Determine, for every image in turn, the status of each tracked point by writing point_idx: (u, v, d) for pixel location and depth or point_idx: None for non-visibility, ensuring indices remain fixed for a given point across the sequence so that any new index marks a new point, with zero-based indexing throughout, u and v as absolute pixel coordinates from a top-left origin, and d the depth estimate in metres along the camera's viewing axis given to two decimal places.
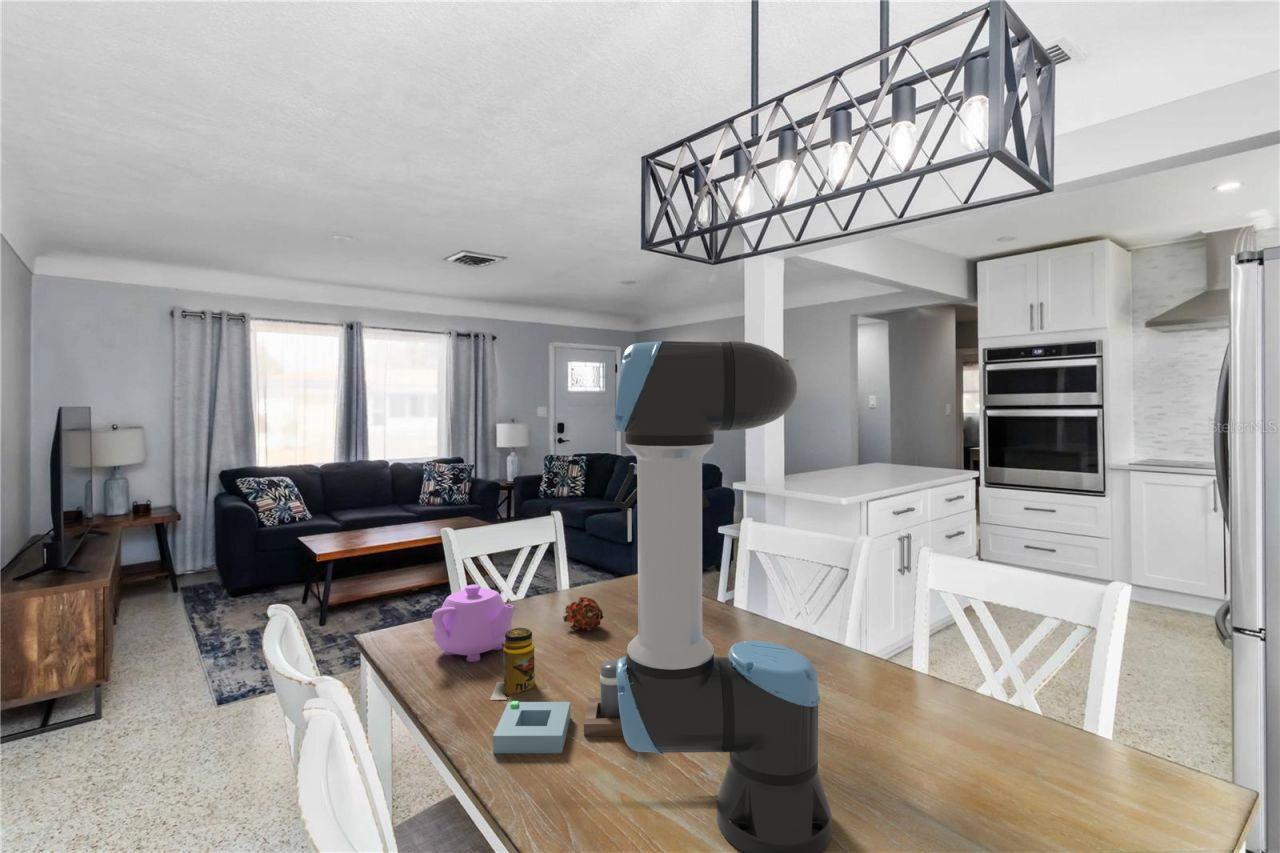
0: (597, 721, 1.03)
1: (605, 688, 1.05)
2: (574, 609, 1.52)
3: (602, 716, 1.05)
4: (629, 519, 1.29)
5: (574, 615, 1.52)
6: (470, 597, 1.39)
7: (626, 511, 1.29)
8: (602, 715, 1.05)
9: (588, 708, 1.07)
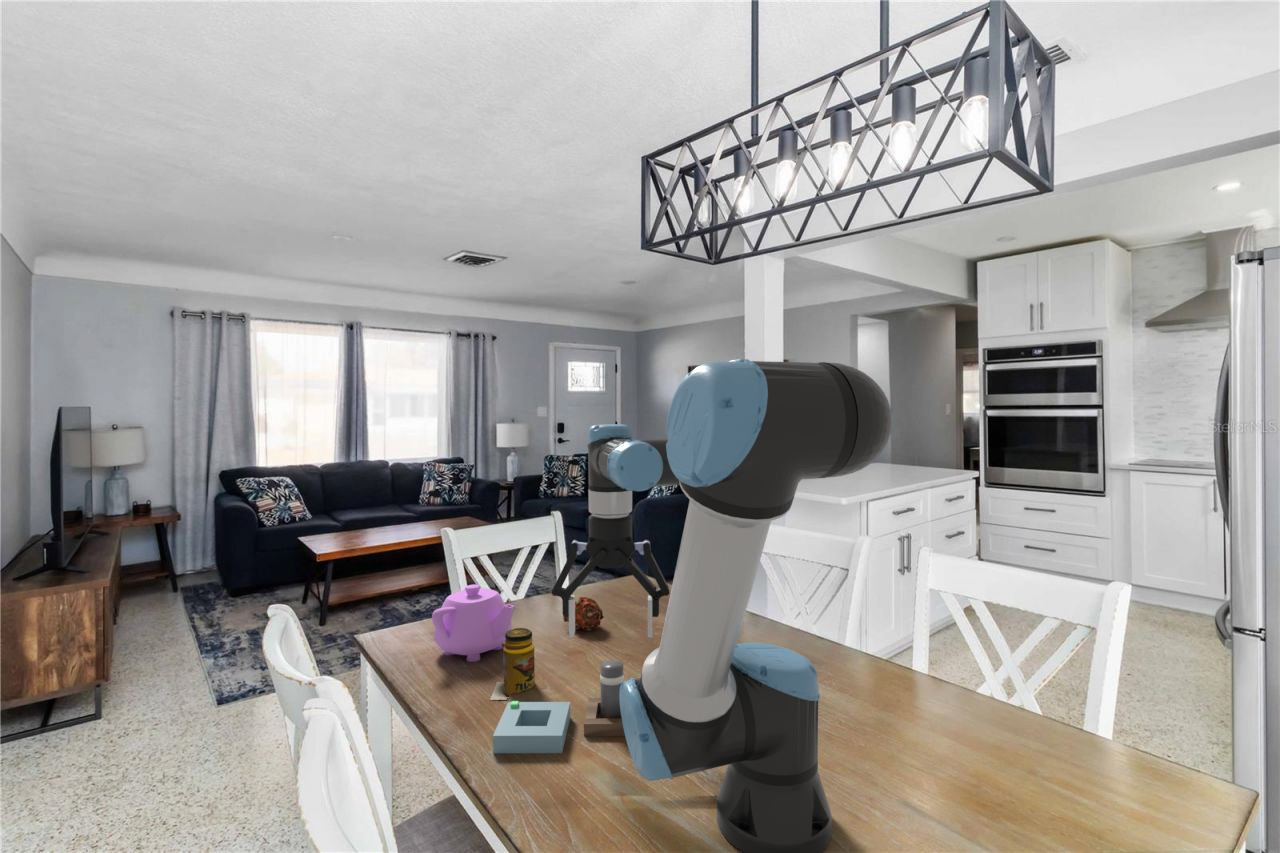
0: (597, 721, 1.03)
1: (605, 688, 1.05)
2: None
3: (602, 716, 1.05)
4: (571, 610, 1.05)
5: None
6: (470, 597, 1.39)
7: (567, 600, 1.05)
8: (602, 715, 1.05)
9: (588, 708, 1.07)
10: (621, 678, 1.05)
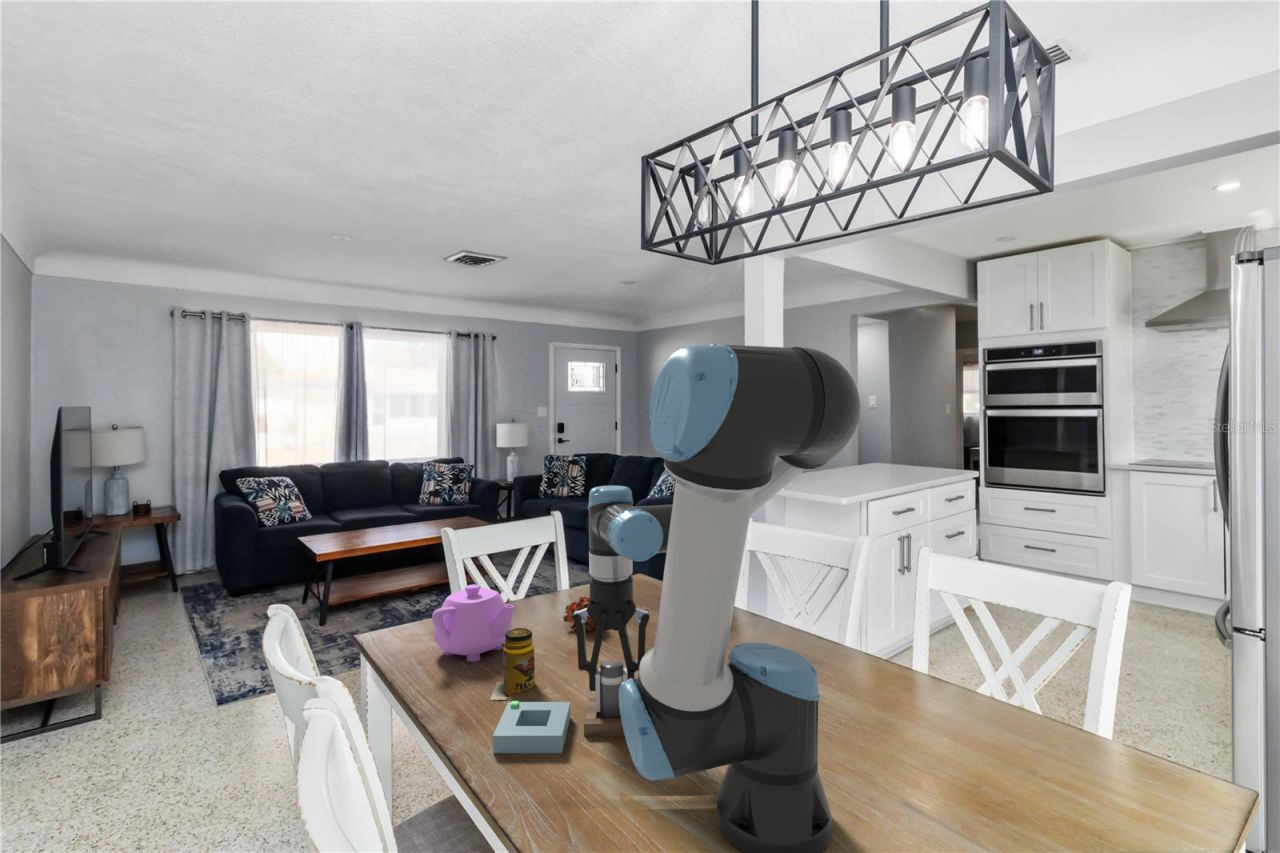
0: (597, 721, 1.03)
1: (605, 688, 1.05)
2: (574, 609, 1.52)
3: (602, 716, 1.05)
4: (597, 685, 1.05)
5: None
6: (470, 597, 1.39)
7: (594, 674, 1.06)
8: (602, 715, 1.05)
9: (588, 708, 1.07)
10: (621, 678, 1.05)
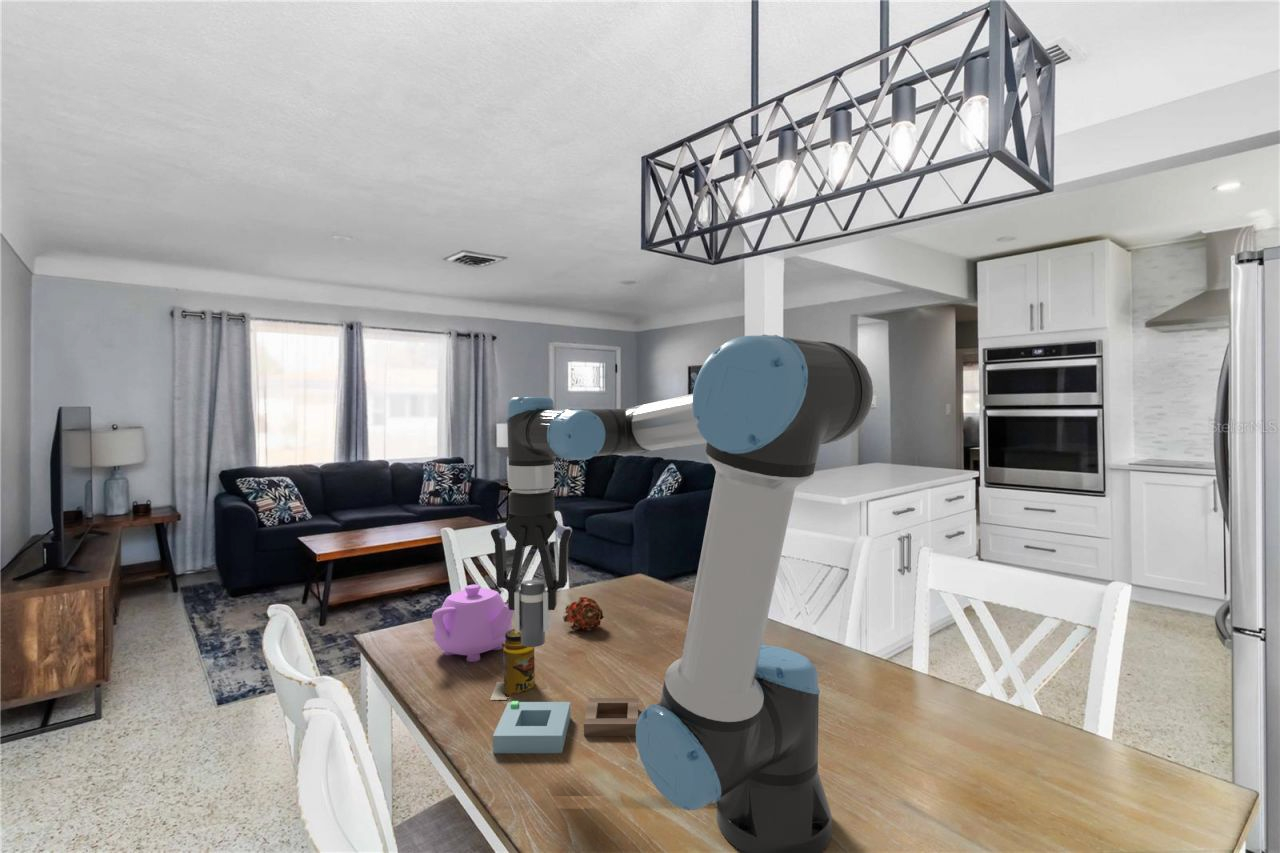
0: (597, 721, 1.03)
1: (524, 606, 1.00)
2: (574, 609, 1.52)
3: (521, 635, 1.01)
4: (516, 603, 1.01)
5: (574, 615, 1.52)
6: (470, 597, 1.39)
7: (513, 592, 1.01)
8: (522, 634, 1.01)
9: (588, 708, 1.07)
10: (541, 596, 1.01)
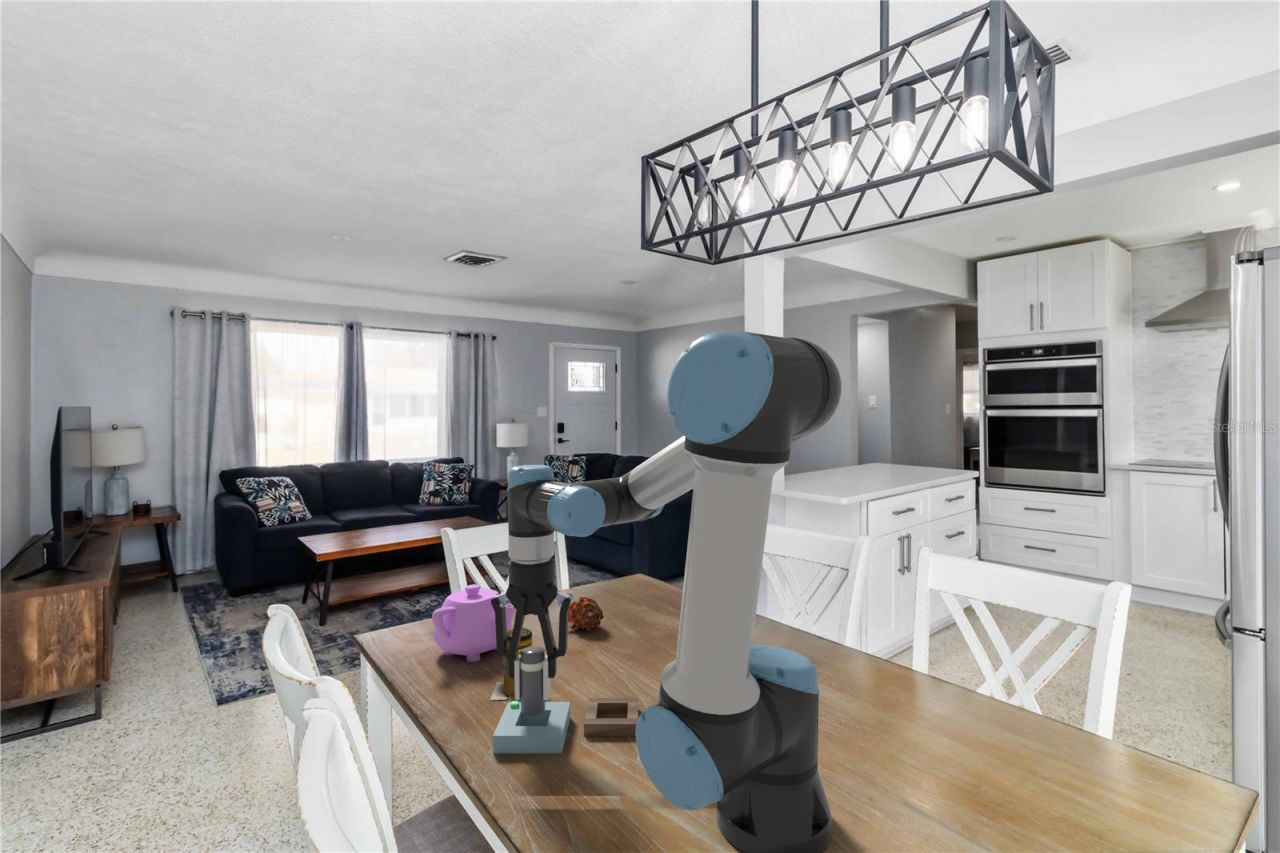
0: (597, 721, 1.03)
1: (524, 675, 1.01)
2: (574, 609, 1.52)
3: (522, 704, 1.02)
4: (516, 672, 1.01)
5: (574, 615, 1.52)
6: (470, 597, 1.39)
7: (513, 661, 1.02)
8: (522, 702, 1.02)
9: (588, 708, 1.07)
10: (541, 664, 1.01)
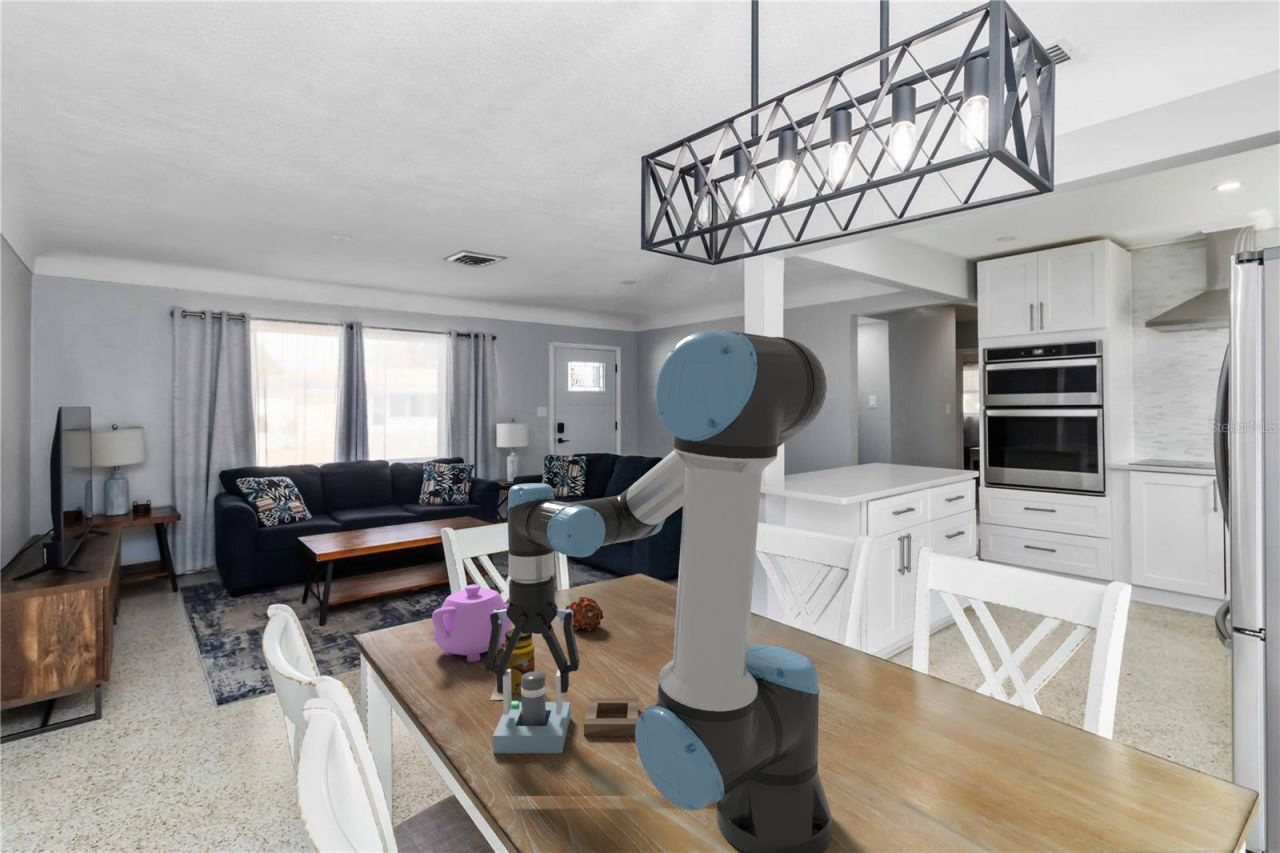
0: (597, 721, 1.03)
1: (525, 701, 1.01)
2: (574, 609, 1.52)
3: None
4: (505, 687, 1.01)
5: (574, 615, 1.52)
6: (470, 597, 1.39)
7: (502, 675, 1.02)
8: None
9: (588, 708, 1.07)
10: (542, 690, 1.01)
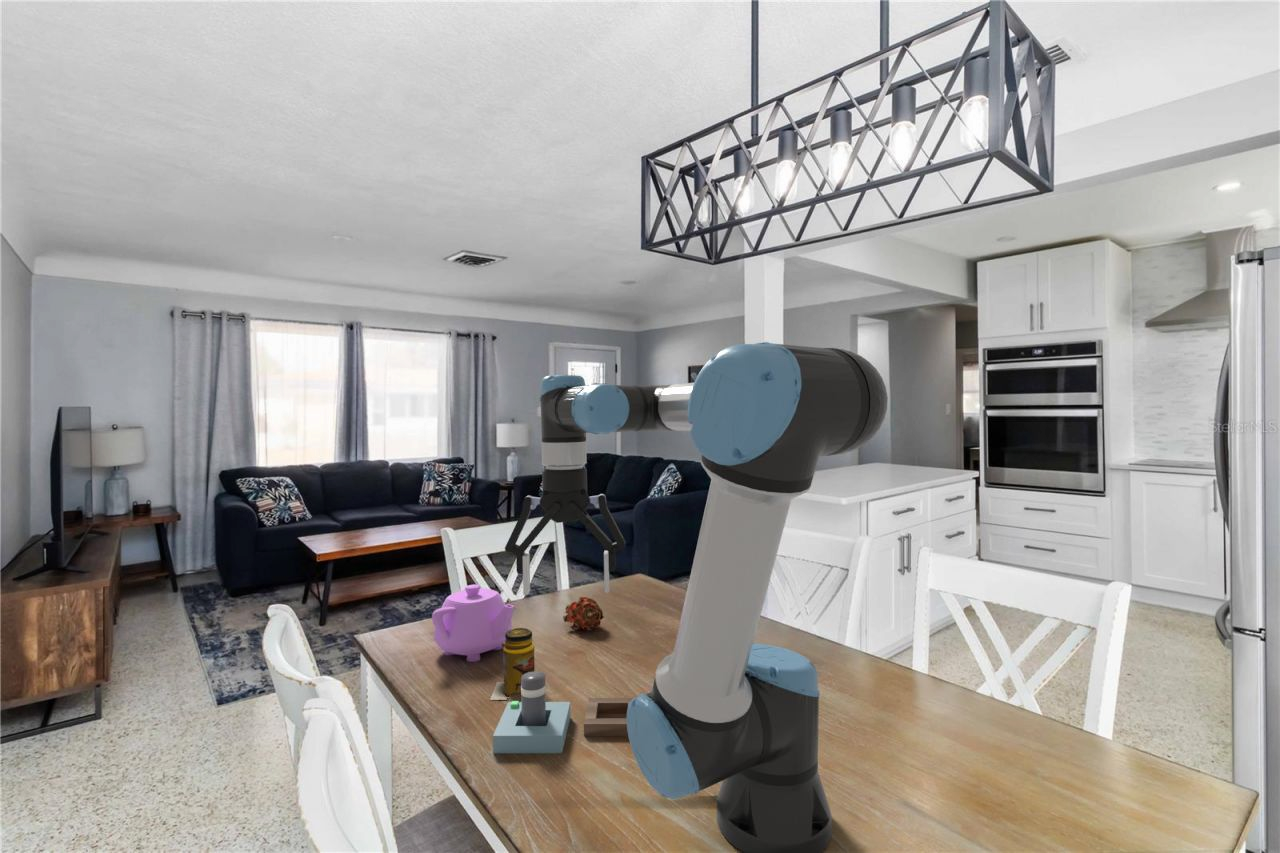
0: (597, 721, 1.03)
1: (525, 701, 1.01)
2: (574, 609, 1.52)
3: None
4: (525, 567, 1.02)
5: (574, 615, 1.52)
6: (470, 597, 1.39)
7: (521, 556, 1.03)
8: None
9: (588, 708, 1.07)
10: (542, 690, 1.01)
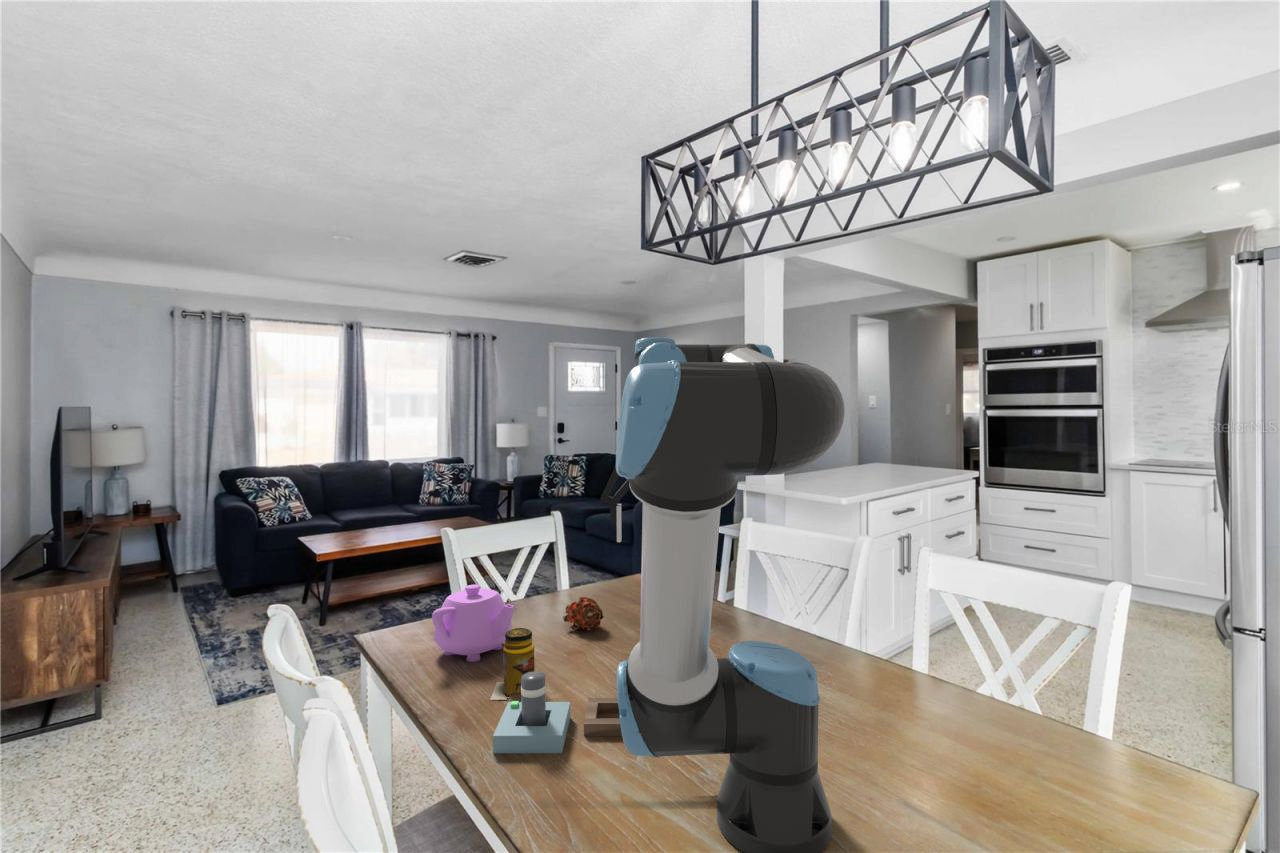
0: (597, 721, 1.03)
1: (525, 701, 1.01)
2: (574, 609, 1.52)
3: None
4: (618, 516, 1.10)
5: (574, 615, 1.52)
6: (470, 597, 1.39)
7: (615, 507, 1.11)
8: None
9: (588, 708, 1.07)
10: (542, 690, 1.01)
